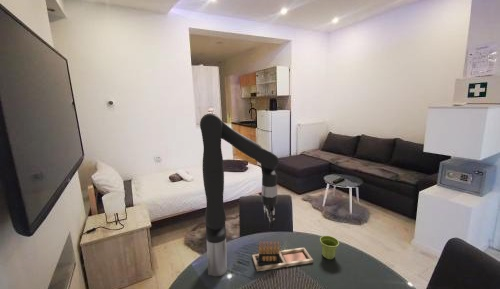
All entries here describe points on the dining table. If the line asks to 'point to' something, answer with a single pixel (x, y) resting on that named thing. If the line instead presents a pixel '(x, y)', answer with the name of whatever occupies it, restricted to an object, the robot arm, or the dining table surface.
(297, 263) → the wooden double frame
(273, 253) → the ammunition clip
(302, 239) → the dining table surface
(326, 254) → the plant pot
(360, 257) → the dining table surface
